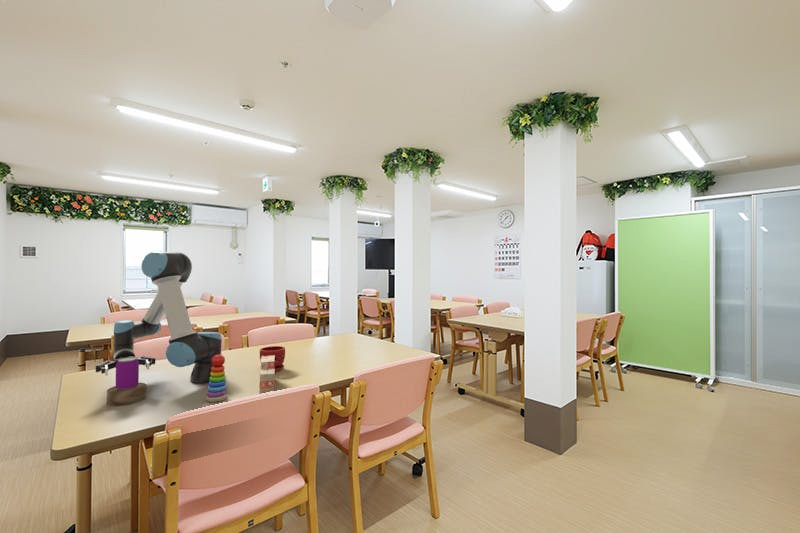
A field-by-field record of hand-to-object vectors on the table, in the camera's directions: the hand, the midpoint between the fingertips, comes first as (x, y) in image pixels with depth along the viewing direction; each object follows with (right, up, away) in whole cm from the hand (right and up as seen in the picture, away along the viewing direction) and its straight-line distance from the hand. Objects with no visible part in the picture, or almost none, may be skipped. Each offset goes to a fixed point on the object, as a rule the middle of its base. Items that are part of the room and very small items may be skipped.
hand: (128, 369), depth 146 cm
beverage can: (-2, -9, +3) cm, 9 cm away
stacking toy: (+34, -14, +5) cm, 37 cm away
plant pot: (+42, -14, +47) cm, 65 cm away
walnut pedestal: (-2, -13, +3) cm, 14 cm away
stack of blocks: (+49, -15, +21) cm, 56 cm away
